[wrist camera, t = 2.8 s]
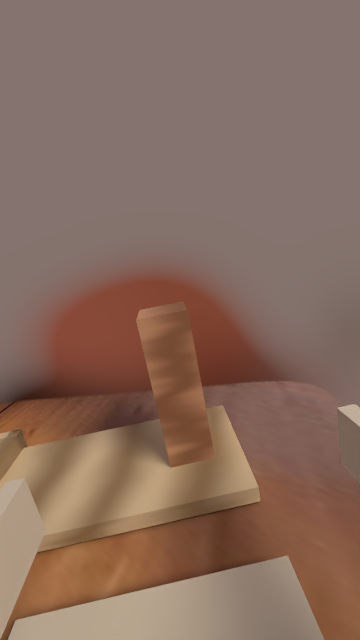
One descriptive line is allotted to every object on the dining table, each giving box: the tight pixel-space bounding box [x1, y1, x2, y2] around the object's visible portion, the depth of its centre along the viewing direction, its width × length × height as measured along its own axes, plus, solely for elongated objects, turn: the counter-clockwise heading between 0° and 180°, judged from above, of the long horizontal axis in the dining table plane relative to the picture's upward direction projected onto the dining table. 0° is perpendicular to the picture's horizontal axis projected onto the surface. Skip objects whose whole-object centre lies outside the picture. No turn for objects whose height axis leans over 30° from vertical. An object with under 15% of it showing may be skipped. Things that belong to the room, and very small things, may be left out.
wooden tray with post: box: [0, 302, 260, 552], centre depth 20 cm, size 32×11×13 cm, turn 95°
